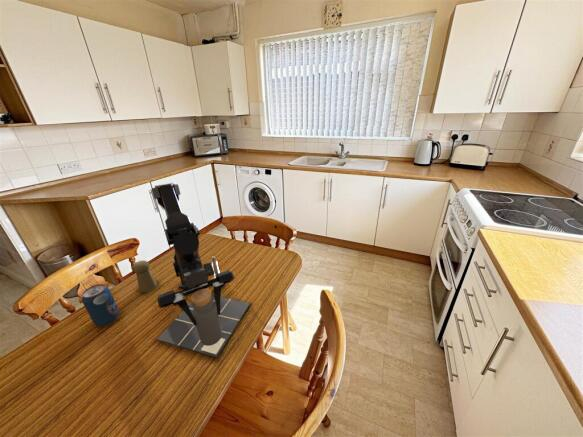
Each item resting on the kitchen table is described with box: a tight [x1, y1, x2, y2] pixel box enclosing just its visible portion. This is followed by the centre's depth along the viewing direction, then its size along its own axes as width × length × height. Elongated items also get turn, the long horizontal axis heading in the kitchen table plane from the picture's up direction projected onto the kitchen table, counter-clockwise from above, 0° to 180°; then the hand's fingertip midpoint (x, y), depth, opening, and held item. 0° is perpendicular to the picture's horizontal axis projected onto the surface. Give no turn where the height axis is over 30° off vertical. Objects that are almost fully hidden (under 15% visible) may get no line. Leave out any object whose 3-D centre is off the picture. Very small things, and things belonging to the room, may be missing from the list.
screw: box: [211, 255, 220, 278], centre depth 88 cm, size 13×5×5 cm
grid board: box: [156, 294, 251, 359], centre depth 75 cm, size 20×20×1 cm
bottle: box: [190, 288, 222, 346], centre depth 62 cm, size 6×6×15 cm
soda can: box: [81, 283, 120, 327], centre depth 74 cm, size 7×7×12 cm
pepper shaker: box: [132, 259, 158, 293], centre depth 88 cm, size 6×6×11 cm
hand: (207, 320), depth 61 cm, fingers closed on bottle, 6 cm apart
